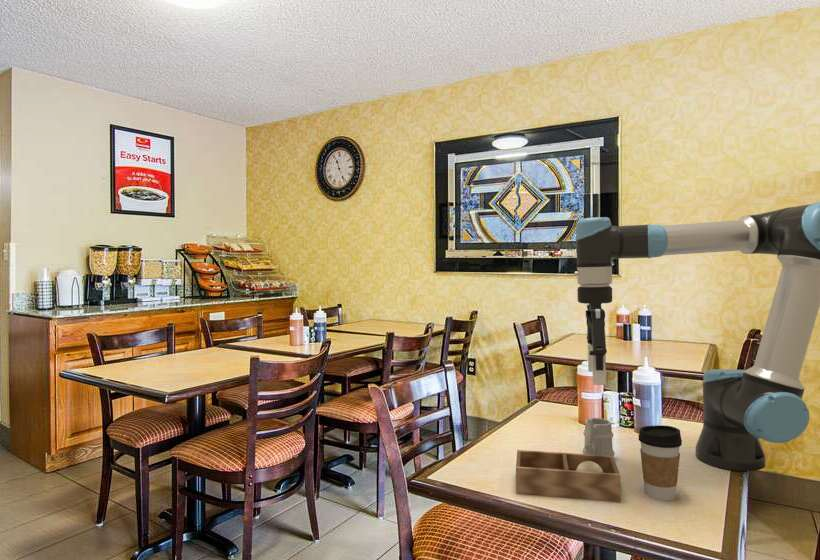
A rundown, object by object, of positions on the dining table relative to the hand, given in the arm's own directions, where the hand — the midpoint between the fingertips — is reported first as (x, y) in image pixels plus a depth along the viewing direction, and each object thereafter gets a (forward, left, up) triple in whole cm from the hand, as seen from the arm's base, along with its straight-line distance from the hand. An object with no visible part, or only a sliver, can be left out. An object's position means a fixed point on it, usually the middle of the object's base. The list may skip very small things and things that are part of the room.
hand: (596, 377), depth 120 cm
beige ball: (+2, +6, -24) cm, 24 cm away
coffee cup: (-12, +6, -25) cm, 28 cm away
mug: (-1, -13, -25) cm, 28 cm away
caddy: (+7, +6, -24) cm, 26 cm away
